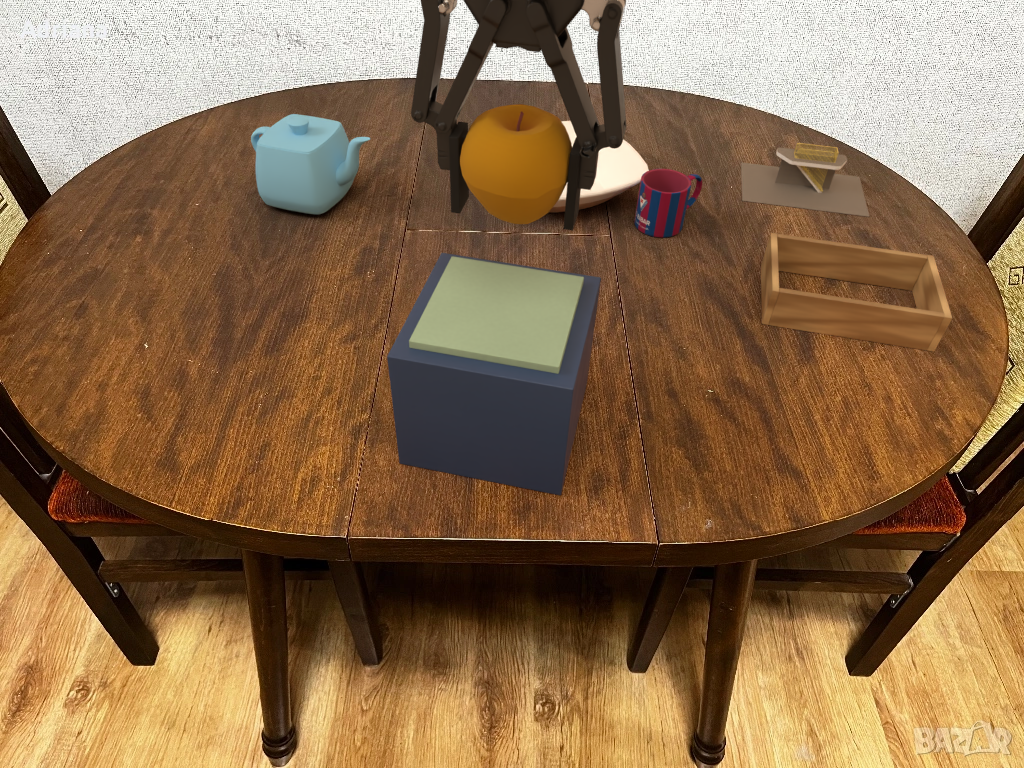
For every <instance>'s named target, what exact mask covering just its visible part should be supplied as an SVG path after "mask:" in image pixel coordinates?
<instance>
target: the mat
mask: <svg viewBox="0 0 1024 768" xmlns="http://www.w3.org/2000/svg"><path fill="white" fill-rule="evenodd" d="M583 282H584V277H580V276H574V275H567V274H561V273H555V272H548V271H542V270H536V269H529V268H523V267H516V266H510V265H504V264H497V263H491V262H484V261H478V260H472V259H465V258H459V257H451V259H450V261H449V263H448V265H447V267H446V269H445V271H444V273H443V275H442V277H441V279H440V281H439V282H438V284H437V286H436V288H435V290H434V292H433V294H432V296H431V298H430V300H429V302H428V304H427V306H426V308H425V310H424V312H423V314H422V316H421V318H420V320H419V322H418V324H417V326H416V328H415V330H414V332H413V334H412V336H411V338H410V340H409V347H410V348H414V349H420V350H425V351H431V352H437V353H443V354H448V355H454V356H460V357H465V358H471V359H477V360H482V361H488V362H494V363H499V364H505V365H511V366H517V367H522V368H528V369H534V370H539V371H545V372H551V373H556V374H559V371H560V367H561V364H562V360H563V356H564V353H565V349H566V345H567V342H568V338H569V334H570V331H571V327H572V323H573V320H574V316H575V312H576V309H577V305H578V301H579V298H580V294H581V290H582V287H583Z"/></svg>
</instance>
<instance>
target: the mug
mask: <svg viewBox="0 0 1024 768" xmlns="http://www.w3.org/2000/svg"><path fill="white" fill-rule="evenodd" d="M693 180H696V181H695V188H694V191H693V192H692V194H691V196H690V193H691V189H692V181H693ZM702 188H703V179H702V177H701V175H699V174H697V173H691V174H688V175H686V174H685V173H682V172H681V171H678V170H675V169H670V168H653V169H649V171H647V172H645V173H644V174H643V175H642V176H641V182H640V183H639V189H638V195H637V200H636V201H637V202H636V206H635V214H634V220H633V223H634V226H635V228H636V229H637V230H638V231H639V232H640V233H642V234H643V235H645V236H646V235H647V236H649V237H653V238H659V239H660V238H671V237H674V236H677V235H678V234H680V233H681V232H682V230H683V226H684V221H685V217H686V213H687V210H688V209H689V208H691V207H692V206H693V205H694V203H695V202H696V201H697V200H698V198H699V196H700V194H701V192H702Z"/></svg>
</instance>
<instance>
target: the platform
mask: <svg viewBox="0 0 1024 768" xmlns="http://www.w3.org/2000/svg"><path fill="white" fill-rule="evenodd" d="M775 153H776V156H777V157H778V158H780V159H781V161H780V164H779V166H774V165H766V164H759V163H750V162H743V161H742V162H740V170H741V172H740V173H741V175H740V176H741V201H743V202H749V203H758V204H765V205H774V206H781V207H787V208H788V207H789V208H797V209H803V210H812V211H821V212H829V213H836V214H844V215H852V216H859V217H869V218H870V213H869V208H868V205H867V201H866V197H865V193H864V189H863V185H862V181H861V177H860V176H857V175H848V174H841V173H836V171H839V170H841V169H842V168H843V167H844V166H845V165H846V164H847V161H848V156H847V155H845V154H841V153H840V152H839V149H838V147H837V146H827V145H821V144H812V143H803V142H796V146H795V148H788V147H777V148H776V151H775Z"/></svg>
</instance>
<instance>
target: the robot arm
mask: <svg viewBox="0 0 1024 768" xmlns="http://www.w3.org/2000/svg"><path fill="white" fill-rule="evenodd" d="M463 2H464V4H465V5H466V7H467V8H468V11H469V12H470V13H471V15H472V17H473V19H474V20H475V21H476V23H477V25H478V26H477V28H476V31H475V33H474V35H473V37H472V39H471V41H470V44H469V46H468V48H467V52H466V54H465V56H464V58H463V61H462V63H461V64H460V67H459V69H458V71H457V73H456V76H455V78H454V80H453V81H452V82H453V83H452V84H451V87H450V89H449V91H448V93H447V95H446V97H445V99H444V102H443V104H442V103H440V102H438V101H437V100H438V94H439V88H440V82H441V76H442V69H443V64H444V57H445V51H446V46H447V39H448V33H449V27H450V21H451V13H452V12H453V11H454V10H456V8H457V7H458V0H420V5H421V10H422V16H423V25H422V33H421V38H420V39H421V40H420V46H419V53H418V61H417V68H416V75H415V82H414V87H413V88H414V89H413V96H412V103H411V110H410V116H411V119H412V120H413V121H414V122H416V123H417V124H418V123H419V124H422V123H425V124H428V125H430V126H431V127H432V128H433V129H434V130H435V133H436V134H435V135H436V151H437V153H436V154H437V165H438V166H439V169H440V170H443V171H449V187H450V191H449V193H450V212H451V213H453V214H461V212H462V211H463V209H464V207H465V205H466V203H467V202H468V200H469V198H470V189H469V188H468V186H467V184H466V182H465V180H464V178H463V176H462V171H461V166H460V155H461V149H462V144H463V142H464V140H465V138H466V136H467V133H468V130H469V122H465V121H457V119H458V118H459V117H460V115H461V112H462V110H463V108H464V107H465V106H464V105H465V103H466V101H467V100H468V97H469V95H470V93H471V91H472V89H473V87H474V85H475V83H476V81H477V79H478V77H479V74H480V72H481V70H482V68H483V66H484V64H485V63H486V61H487V58H488V56H489V54H490V52H491V50H492V48H493V46H494V44H495V48H500V49H511V48H520V49H523V50H525V51H527V52H533V53H541V54H542V56H543V58H544V61H545V64H546V66H547V67H548V68H549V69H550V70H551V73H552V76H553V78H554V82H555V84H556V86H557V89H558V91H559V94H560V97H561V99H562V103H563V105H564V107H565V110H566V112H567V113H566V114H567V115H568V118H569V121H571V123H572V126H573V129H574V131H575V134H576V136H577V137H576V139H575V141H574V144H573V146H572V149H571V152H570V158H569V170H568V181H567V193H566V205H565V212H564V217H563V218H564V219H563V227H562V228H563V230H567V231H572V232H573V230H574V228H575V224H576V223H577V222H576V221H577V219H578V215H579V212H580V210H579V201H580V191H581V189H586V190H590V189H591V188H592V186H593V184H594V181H595V178H596V172H597V163H598V154H599V151H600V150H601V149H603V148H606V147H610V148H614V149H615V148H618V147H620V146H621V144H622V142H623V139H625V138H624V137H625V134H626V131H627V125H628V124H627V113H626V100H625V88H624V74H623V62H622V61H623V59H622V46H621V35H620V34H621V33H620V29H621V24H622V20H623V17H624V13H625V8H626V5H627V0H463ZM580 11H584V12H585V13H586V14H587V16H588V23H589V27H590V28H591V29H592V30H593V31H594V32H597V37H596V38H597V39H596V41H597V42H596V53H597V62H598V73H599V83H600V93H601V94H600V96H601V105H602V115H603V123H602V124H600V122H599V119H598V116H597V114H596V110H595V108H594V105H593V102H592V100H591V97H590V94H589V91H588V88H587V85H586V83H585V80H584V77H583V75H582V72H581V69H580V66H579V63H578V61H577V58H576V55H575V53H574V48H573V41H572V38H571V35H570V32H569V29H568V26H569V25H570V24H571V23H572V22H573V20H574V19H575V18H576V16H577V15H578V14H579V13H580Z"/></svg>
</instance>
